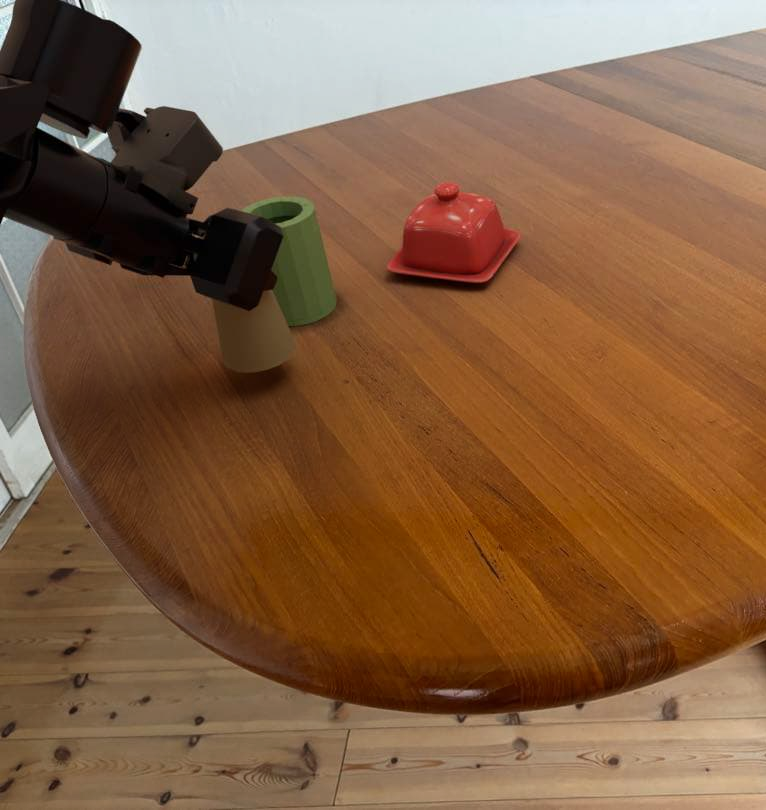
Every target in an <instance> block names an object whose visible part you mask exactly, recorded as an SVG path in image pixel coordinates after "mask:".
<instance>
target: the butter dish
mask: <svg viewBox="0 0 766 810" xmlns="http://www.w3.org/2000/svg"><path fill="white" fill-rule="evenodd" d="M433 192H434V193H432V194H430V195H428V196H426V197H424V199H422V200H421V201H420V202H419V203H418V204H416V205H415V207H413V209H412V211H411V212H410V213H409V215H408V217H407V218H406V220H405V223H404V225H403V232H402V246H401V248H400V249H399V250H398V251H397V252H396V253H395V254H394V255H393V256H392V258H391V259H390V260H389V262H388V263H387V265H386V271H387V272H390V273H393V274H398V275H407V276H414V277H422V278H429V279H436V280H446V281H453V282H462V283H472V284H482V283H486V282H488V281H489V280H491V279H492V277H494V275H495V274H496V273H497V271H498V269H499V268H500V267H501V265H502V264H503V262H504V261H505V260H506V259H507V257H508V255H510V253H511V251H512V250H513V249H514V248H515V246H516V245H517V244H518V242H519V241H520V239H521V237H522V234H521V232H520V231H517V230H514V229H509V228H505V227H504V224H503V221H502V216H501V213H500V211H499V209H498V206H497V204H496V202H495V201H494V200H493V199H491V198H490V197H486V196H485V195H481V194H476V193H472V192H465V191H460V187H459V185H458V184H457V183H456V182H453V181H445V182H441V183H439V184H438V185H436V186H435V188H434V190H433Z"/></svg>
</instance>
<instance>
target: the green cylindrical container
mask: <svg viewBox="0 0 766 810" xmlns="http://www.w3.org/2000/svg"><path fill="white" fill-rule="evenodd" d="M241 211H243V212H246V213H250V214H254V215H258V216H262V217H264V218H266V219H267V220H269V221H271V222H273V223H275V224H277V225H278V226H280V227H281V229H282V232H283V235H284V237H283V239H282V242H281V245H280V247H279V250H278V253H277V256H276V258H275V261H274V264H273V266H272V269H271V270H272V271H273V272H274V274H275V275H276V276H277V277H278V279H277V282H276V285H275V287H274V289H273V290H272V291H273V293H274V295H275V298H276V300H277V302H278V304H279V307H280V309H281V311H282V313H283V316H284V318H285V320H286V322H287V325H288V327H300V326H305V325H309V324H312V323H316V322H318V321H320V320H322V319H325V318H326V317H328V316H329V315H330V314H331V313H332V312H333V311H334V310H335V308H336V306H337V303H338V301H337V296H336V291H335V287H334V283H333V279H332V274H331V271H330V267H329V262H328V258H327V254H326V249H325V244H324V241H323V237H322V232H321V228H320V224H319V220H318V216H317V212H316V207H315V204H314V202H312V201H311V200H309V199H308V198H306V197H299V196H276V197H269V198H266V199H263V200H260V201H257V202H254V203H251V204H249V205H247V206H246V207H244V208H242V210H241Z"/></svg>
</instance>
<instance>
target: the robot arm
mask: <svg viewBox="0 0 766 810" xmlns="http://www.w3.org/2000/svg"><path fill="white" fill-rule="evenodd" d="M142 49H143V46H142V43H141V42H140V41H139V40H138V39H137V37H135V35H133V34H132V33H131V32H129V31H128V29H125V28H124V27H123V26H121V25H120V24H118V23H117V22H115V21H113V20H111V19H106V18H102V17H100V16H98V15H96V14H94V13H92V12H90V11H89V10H86V9H84V8H81V7H79V6H77V5H75V4H73V3H70V2H67V1H64V0H14V3H13V6H12V13H11V20H10V24H9V27H8V30H7V32H6V34H5V37H4V39H3V42H2V45H1V47H0V226H1V225H2V222H3V220H4V218H5V219H7V220H10V221H13V222H15V223H18V224H20V225H23V226H25V227H28V228H31V229H34V230H36V231H38V232H41V233H44V234H46V235H48V236H51V237H52V239H55V240H57V241H60V242H63V243H65V245H66V247H67V250H68V251H69V252H72V253H74V254H77V255H79V256H82V257H84V258H87V259H90V260H93V261H95V262H98V263H102V264H105V265H107V266H112V264H113V262H114V263H117V264H118V265H119V266H120V268H121V269H122V270H125V271H128V272H132V273H135V274H138V275H141V276H156V277H159V278H162V279H164V278H165V276H177V277H178V276H181V277H182V276H183V277H184V276H185V277H187V276H189V277H190V279H191V282H192V285H193V289H194V291H195V293H196V294H199V295H201V296H204V297H206V298H209V299H211V300H212V299H215V300H217V301H220V302H223V303H226V304H229V305H232V306H235V307H238V308H241V309H244V310H247V311H251V310H252V309H254V308H255V307H257V306H258V304H259V302H260V299H261V296H262V294H263V291H267V290H273V289H274V287H275V285H276V282H277V279H278V277H277V276H276V275H275V274H274V272H273V271H272V270H271V269H272V266H273V264H274V261H275V258H276V256H277V253H278V250H279V247H280V245H281V242H282V239H283V237H284V235H283V232H282V229H281V227H280V226H278V225H277V224H275V223H273V222H271V221H269V220H267V219H266V218H264V217H262V216H258V215H254V214H250V213H246V212H243V211H242V210H238V209H235V208H231V207H225V208H224V209H222V210H219V211H217V212H215V213H213V214H211V215H209V216H207V217H206V218H205V219H204V221H201V220H197V219H193V218H190V217H188V215H193V214H194V211H195V208H196V206H197V203H198V200H199V197H197V196H195V195H194V194H191V193H190V192H188V191H189V190H190V189H191V188H193V187H194V186H195V185H196V183H197V182H198V181H199V180H200V179H201V177H202V176H203V175H204V174H205V172H206V171H207V170H208V168H209V167H210V166H211V165H212V164H213V163H214V162H218V160H219V159H221V157H222V155H223V152H224V148H223V146H222V145H221V144H220V142H219V141H218V140H217V138H216V137H215V135H214V134H213V133H212V131H210V129H209V128H208V126H206V124H205V123H204V121H203V120H202V119H201V118H200V116H199V115H198V114H197V112H195V111H194V110H193V111H192V110H188V109H182V108H178V107H172V106H165V105H162V106H158V107H155V108H153V107H145V108H144V110H143V113H144V114H145V115H143V114H140V113H139V112H135V111H133V110H130V109H125V108H121V104H122V102H123V99H124V96H125V95H126V91H127V88H128V86H129V83H130V81H131V78H132V75H133V73H134V71H135V67H136V65H137V62H138V59H139V57H140V54H141V52H142ZM40 123H42V124H44V125H46V126H49V127H51V128H52V129H54V130H55V129H56V130H58V131H60V132H62V133H65V134H67V135H70V136H74V137H77V138H79V139H85V140H86V139H88V137H89V135H90V133H91V129H92V130H94V131H97V132H99V133H102V134H105V135H106V134H107V136H108V141H109V143H110V145H111V150H112V151H114V153H115V155H114V157H113V158H112V159H111V161H109V160H106V159H104V158H101V157H98V156H94V155H92V154H90V153H88V152H87V151H85V150H83V149H81V148H79V147H77V146H75V145H73V144H71V143H69V142H67V141H65V140H63V139H61V138H59V137H57V136H55V135H53V134H51V133H49V132H48V131H45V130H43V129H41V128H39V127H38V126H39V124H40ZM204 235H205V236H204ZM200 236H201V237H204V239H201V238H198V237H200ZM194 254H196V255H197V258H196V261H195V260H194Z"/></svg>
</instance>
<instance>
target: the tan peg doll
mask: <svg viewBox="0 0 766 810" xmlns="http://www.w3.org/2000/svg"><path fill="white" fill-rule="evenodd" d="M204 236H205V235H204ZM197 238H201V239H204V237H201V236H197ZM196 258H197V255H196V254H194V260H195V261H196ZM211 300H212V305H213V310H214V311H213V312H214V317H215V322H216V329H217V334H218V340H219V344H220V345H219V346H220V351H221V357H222V362H223V364H224V365H225V367H226V368H227V369H230V370H232V371H233V372H238V373H244V374H246V373H258V372H263V371H264V372H265V371H268V370H270V369H274V368H276V367H278V366H280V365H282V364H283V363H285V362H286V361H288V360H289V359H290V358H291V357H292V356H293V355H294V354H295V351H296V350H297V344H296V340H295V338H294V336H293V334H292V331H291V329H290V326H288V325H287V322H286V320H285V318H284V316H283V313H282V311H281V309H280V307H279V304H278V302H277V300H276V298H275V295H274V293H273V291H272V290H267V291H263V294H262V296H261V299H260V302H259V304H258V306H257V307H255V308H254V309H252V310H251V311H247V310H244V309H241V308H238V307H235V306H232V305H229V304H226V303H223V302H220V301H217V300H215V299H212V298H211Z"/></svg>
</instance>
